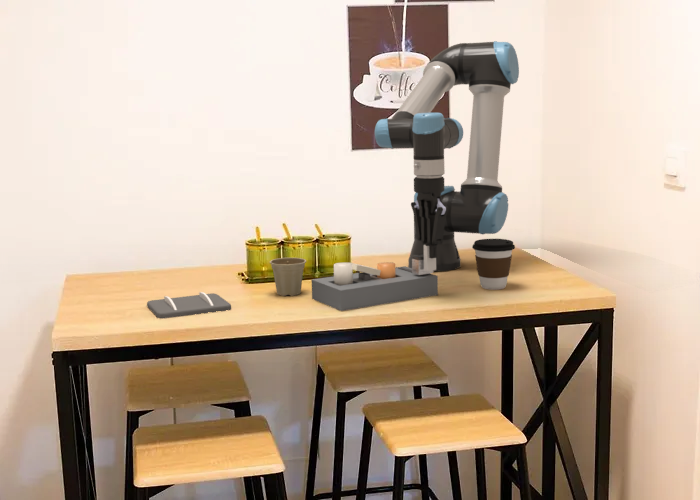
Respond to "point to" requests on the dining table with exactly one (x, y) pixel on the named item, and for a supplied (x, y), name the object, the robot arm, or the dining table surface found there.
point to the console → (374, 289)
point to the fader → (418, 265)
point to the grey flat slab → (188, 305)
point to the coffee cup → (493, 262)
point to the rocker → (365, 269)
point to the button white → (343, 274)
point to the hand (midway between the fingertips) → (430, 270)
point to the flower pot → (288, 275)
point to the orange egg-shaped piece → (386, 270)
